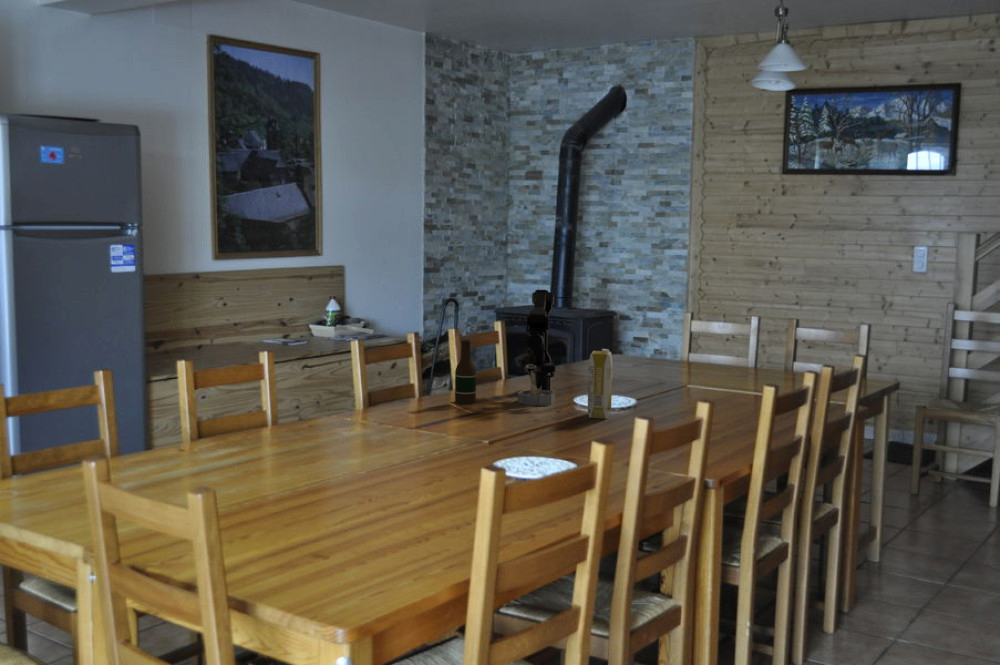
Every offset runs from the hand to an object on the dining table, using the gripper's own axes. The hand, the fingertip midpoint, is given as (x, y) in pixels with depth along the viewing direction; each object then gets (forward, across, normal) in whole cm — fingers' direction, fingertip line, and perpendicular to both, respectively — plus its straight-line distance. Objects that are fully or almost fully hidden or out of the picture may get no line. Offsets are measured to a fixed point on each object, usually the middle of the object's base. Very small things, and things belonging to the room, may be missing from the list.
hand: (536, 387), depth 370 cm
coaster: (+6, -12, -10) cm, 17 cm away
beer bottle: (+6, -9, -25) cm, 27 cm away
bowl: (+6, 0, 0) cm, 6 cm away
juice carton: (+6, +30, +9) cm, 32 cm away
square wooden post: (+3, 0, 0) cm, 3 cm away
